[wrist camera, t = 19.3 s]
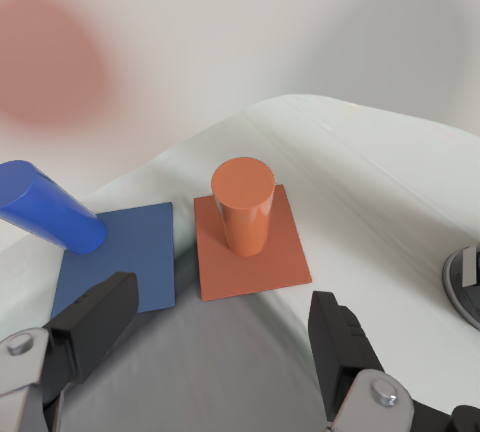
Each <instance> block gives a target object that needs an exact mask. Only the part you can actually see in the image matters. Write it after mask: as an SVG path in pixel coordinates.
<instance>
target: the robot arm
mask: <svg viewBox="0 0 480 432" xmlns="http://www.w3.org/2000/svg"><path fill="white" fill-rule="evenodd" d="M443 282H444V286H445V289H446V292H447V294H448V296H449V298H450V300H451V302H452V303H453V305H454V306H455V308H456V309H457V310H458V311H459V313H460V314H461V315H462V316H463V317H464V318H465V319H466V320H467V321H468V322H470V323H471V324H472V325H473V326H475V327H476V328H478V329H479V330H480V243H478V244H476V245H473V246H470V247H466V248H464V249H461V250H459V251H457V252H455V253H453V254H452V255H451V256H450V257H449V258H448V259H447V261H446V263H445V265H444V268H443ZM138 307H139V294H138V284H137V276H136V274H135V273H133V272H123V271H117V272H115V273H114V274H113V275H111V276H110V277H109V278H108V279H107V280H106V281H102V282H100V283H98V284H96V285H94V286H92V287H91V288H89V289H88V290H87V291H86V292H85V293H83V294H82V296H80V297H78V298H77V299H76V300H75V301H74V302H73V303H71V304H70V305H69V306H67V307H66V308H65V309H64V310H63V311H61V312H60V313H59V314H58V315H56V316H55V317H54V318H53V319H51V320H50V321H49V322H48V323H47V324H45V325H44V326H43V327H42V328H29V329H25V330H22V331H19V332H17V333H15V334H12V335H10V336H9V337H7V338H5V339H4V340H2V341H1V342H0V432H60V428H61V418H62V409H63V399H64V393H63V389H64V387H65V386H66V385H67V384H68V383H69V382H71V383H78V384H83V383H84V381H85V380H86V379H87V378H88V376H89V375H90V374H91V372H92V371H93V370H94V368H95V367H96V366H97V365H98V363H99V362H100V361H101V359H102V358H103V357H104V355H105V354H106V353H107V351H108V350H109V349H110V348H111V346H112V345H113V344H114V342H115V341H116V340H117V338H118V337H119V336H120V335H121V333H122V332H123V331H124V329H125V328H126V327H127V325H128V324H129V323H130V321H131V320H132V319H133V318H134V316H135V315H136V313H137V311H138ZM308 334H309V339H310V344H311V348H312V353H313V357H314V362H315V366H316V371H317V376H318V380H319V385H320V389H321V394H322V398H323V403H324V407H325V412H326V416H327V421H329V422H333V423H332V425H331V427H326V428H325V430H324V432H480V409H478V408H476V407H472V406H467V405H460V406H457V407H456V408H454V410H453V412H452V414H451V415H448V414H446V413H443V412H441V411H438V410H436V409H433V408H431V407H429V406H426V405H424V404H421V403H419V402H417V401H415V400H413V399H412V398H411V396H410V394H409V393H408V391H407V390H406V389H405V388H404V387H403V385H401V384H400V383H399V382H398V381H397V380H396V379H394V378H393V377H391V376H390V375H388V374H386V373H385V371H384V369H383V367H382V365H381V364H380V362H379V360H378V358H377V356H376V354H375V352H374V350H373V348H372V346H371V344H370V342H369V340H368V339H367V337H366V335H365V333H364V331H363V329H362V328H361V325H360V323H359V321H358V319H357V317H356V315H354V314H353V313H352V312H351V311H350V310H349V309H348V308H347V307H346V306H339V305H338V303H337V301H336V299H335V297H334V294H333V293H332V292H323V291H313V294H312V300H311V306H310V313H309V319H308Z"/></svg>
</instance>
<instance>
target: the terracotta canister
mask: <svg viewBox="0 0 480 432" xmlns="http://www.w3.org/2000/svg"><path fill="white" fill-rule="evenodd" d="M211 188H212V192H213V196H214V200H215V203H216V207H217V211H218V215H219V218H220V222H221V226H222V230H223V233H224V237H225V241H226V244H227V246H228V248H229V249H230V250H231V251H232V252H233V253H235V254H237V255H239V256H244V257H248V256H253V255H255V254H257V253H259V252H260V251H261V250H262V249H263V248H264V246H265V245H266V242H267V236H268V229H269V223H270V216H271V209H272V202H273V195H274V188H275V178H274V175H273V173H272V171H271V170H270V168H269V167H268V166H267V165H266V164H264V163H263V162H261V161H259V160H257V159H254V158H248V157H240V158H234V159H231V160H229V161H227V162H225V163H223V164H222V165H221V166H219V167H218V168H217V170H216V171H215V173H214V175H213V177H212V181H211Z"/></svg>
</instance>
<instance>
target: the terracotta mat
mask: <svg viewBox="0 0 480 432" xmlns="http://www.w3.org/2000/svg"><path fill="white" fill-rule="evenodd" d="M194 208H195V220H196V233H197V246H198V259H199V271H200V284H201V297H202V301H208V300H214V299H220V298H226V297H231V296H237V295H243V294H248V293H254V292H260V291H266V290H271V289H277V288H283V287H288V286H294V285H300V284H306V283H311V282H312V279H311V276H310V272H309V269H308V266H307V262H306V259H305V256H304V252H303V249H302V246H301V243H300V239H299V236H298V233H297V229H296V226H295V223H294V219H293V216H292V213H291V210H290V206H289V203H288V200H287V196H286V193H285V190H284V186H283V184H281V185H275V188H274V195H273V202H272V209H271V216H270V223H269V229H268V236H267V242H266V245H265V246H264V248H263V249H262V250H261V251H260V252H259V253H257V254H255V255H253V256H248V257H244V256H239V255H237V254H235V253H233V252H232V251H231V250H230V249H229V248H228V246H227V244H226V241H225V237H224V233H223V230H222V226H221V222H220V218H219V215H218V211H217V207H216V203H215V200H214V196H206V197H200V198H194Z"/></svg>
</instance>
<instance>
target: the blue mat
mask: <svg viewBox="0 0 480 432" xmlns="http://www.w3.org/2000/svg"><path fill="white" fill-rule="evenodd" d="M95 215H96V216H97V217H99V218H100V219H101V220H102V221H104V223H105V224H106V227H107V235H106V238H105V240H104V241H103V243H102V244H101V245H100V246H99V247H98V248H97V249H96V250H94V251H92V252H90V253H88V254H84V255H76V254H73V253H71V252H69V251H67V250H64V255H63V260H62V265H61V270H60V274H59V279H58V284H57V289H56V294H55V299H54V304H53V308H52V313H51V318H50V320H51V319H53V318H54V317H55V316H56V315H58V314H59V313H60V312H61V311H63V310H64V309H65V308H66V307H67V306H69V305H70V304H71V303H73V302H74V301H75V300H76V299H77V298H78V297H80V296H82V294H83V293H85V292H86V291H87V290H88V289H89V288H91V287H92V286H94V285H96V284H98V283H100V282H102V281H106V280H107V279H108V278H109V277H110V276H111V275H113V274H114V273H115V272H117V271H123V272H133V273H135V274H136V276H137V284H138V294H139V307H138V311H137V313H140V312H145V311H151V310H157V309H163V308H168V307H174V306H175V291H174V253H173V215H172V203H171V202H169V203H162V204H156V205H150V206H144V207H137V208H131V209H125V210H119V211H112V212H106V213H100V214H95Z"/></svg>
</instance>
